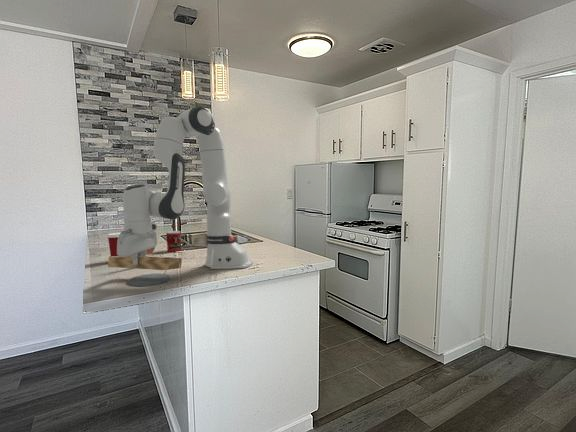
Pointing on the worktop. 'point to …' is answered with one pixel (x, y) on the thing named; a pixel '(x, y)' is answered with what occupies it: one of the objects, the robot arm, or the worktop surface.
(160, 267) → the oak link
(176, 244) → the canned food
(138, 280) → the slate mat
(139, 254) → the tin
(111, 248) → the paper cup
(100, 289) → the worktop surface
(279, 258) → the worktop surface
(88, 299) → the worktop surface
